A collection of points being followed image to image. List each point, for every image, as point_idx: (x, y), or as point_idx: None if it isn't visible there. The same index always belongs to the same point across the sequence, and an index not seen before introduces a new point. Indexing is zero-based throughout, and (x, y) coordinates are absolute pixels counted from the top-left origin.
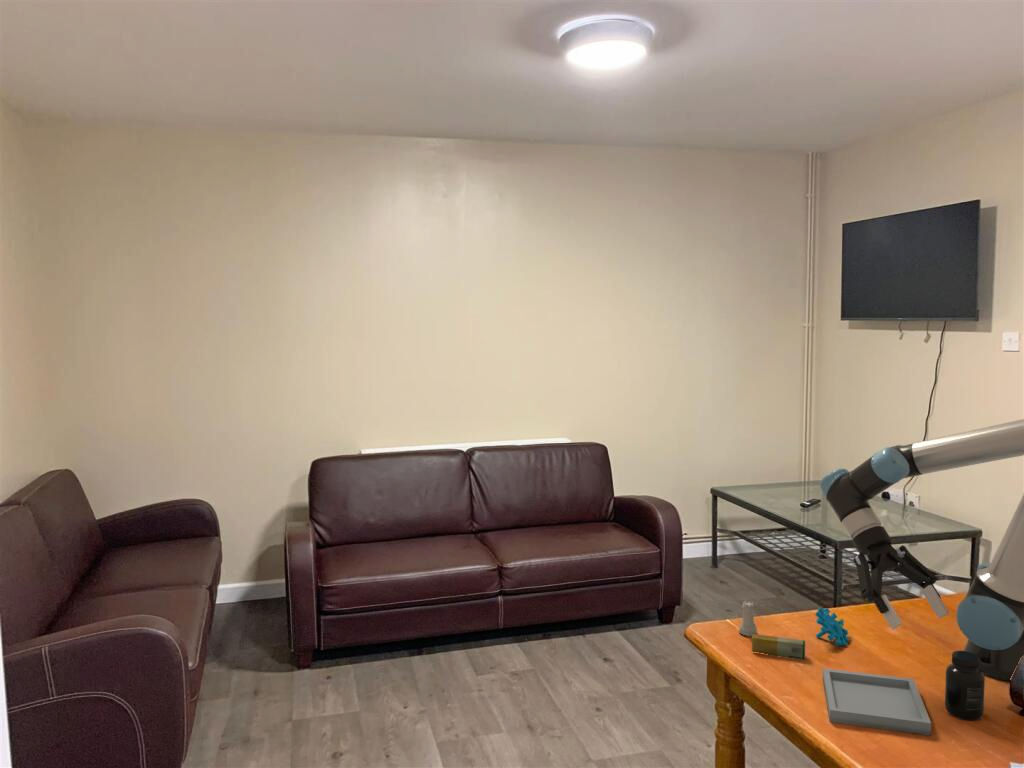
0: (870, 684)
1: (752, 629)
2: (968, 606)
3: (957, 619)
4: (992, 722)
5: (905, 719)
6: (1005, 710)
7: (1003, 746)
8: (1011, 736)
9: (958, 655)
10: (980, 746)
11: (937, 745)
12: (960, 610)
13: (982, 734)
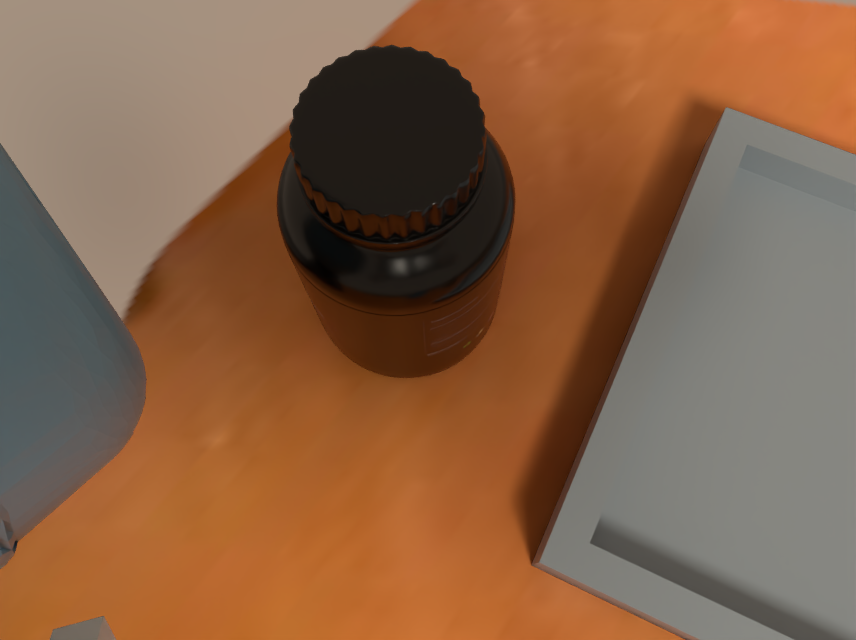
0: (808, 629)
1: None
2: (2, 152)
3: (136, 390)
4: None
5: (842, 152)
6: (181, 282)
7: (435, 35)
8: None
9: (443, 139)
10: (533, 47)
11: (718, 76)
12: (87, 290)
13: None
